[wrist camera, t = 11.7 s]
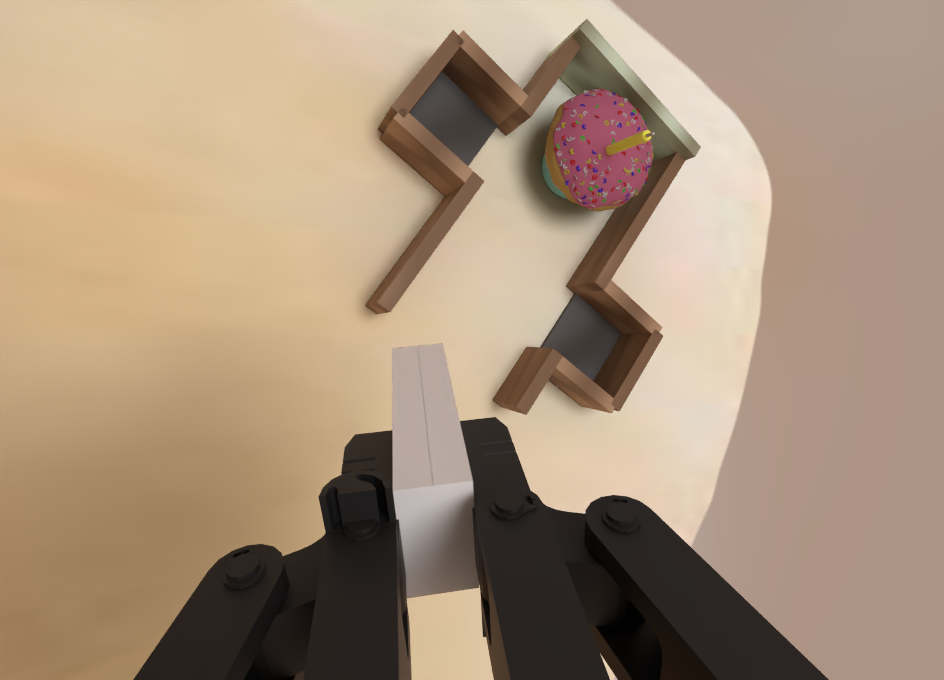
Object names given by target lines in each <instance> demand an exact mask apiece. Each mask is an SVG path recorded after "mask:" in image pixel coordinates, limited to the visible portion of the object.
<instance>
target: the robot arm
mask: <svg viewBox="0 0 944 680" xmlns="http://www.w3.org/2000/svg"><path fill="white" fill-rule="evenodd" d="M341 473H342V475H340V476H338V477H336V478H334V479H332V480H331V481H330V482H329V483H328V484H327V485H325V486H324V487H323V489H322V491H321V493H320V495H319V501H320V506H321V511H322V516H323V521H324V526H325V531H326V533H325V535H324V536H323V537H322V538H321V539H319V540H318V541H316V542H315V543H313V544H312V545H310V546H308V547H306V548H303V549H301V550H299V551H296V552H293V553H291V554H288V555H285V556H283V557H282V553H281V552H280V551H278V550H277V549H276V548H275V547H273V546H268V545H264V544H257V545H248V546H245V547H242V548H239V549H236V550H234V551H232V552H230V553H228V554H227V555H225V556H224V557H222V558H221V559H219V560H218V561H217V562H216V563H215V564H214V565H213V567H212V568H211V569H210V570H209V571H208V572H207V574H206V575H205V577H204V578H203V580H202V581H201V582H200V584H199V585H198V587H197V588H196V590H195V591H194V593H193V594H192V595H191V597H190V598H189V600H188V601H187V603H186V604H185V606H184V607H183V609H182V610H181V611H180V613H179V614H178V616H177V617H176V619H175V620H174V622H173V623H172V625H171V626H170V627H169V629H168V630H167V632H166V633H165V635H164V636H163V638H162V639H161V640H160V642H159V643H158V645H157V646H156V648H155V649H154V651H153V652H152V654H151V655H150V656H149V658H148V659H147V661H146V662H145V664H144V665H143V667H142V668H141V670H140V671H139V672H138V674H137V675H136V677H135V678H134V680H411V654H410V628H409V616H408V608H407V598H412V597H419V596H425V595H432V594H439V593H446V592H453V591H459V590H466V589H473V588H479V585H480V591H481V608H482V626H483V637H486V638H487V643H488V649H489V655H490V660H491V666H492V672H493V677H494V680H610V679H609V676H608V673H607V671H606V668H605V665H604V663H603V660H602V658H601V655H602V656H603V658H604V659H605V661H606V662H607V664H608V665H609V667H610V668H611V670H612V671H613V673H614V674H615V676H616V677H617V679H618V680H828V679H827V678H826V677H825V676H824V675H823V674H822V673H821V672H820V671H819V670H818V669H817V668H816V667H815V666H814V665H813V664H812V663H811V662H810V661H808V659H807V658H806V657H805V656H803V655H802V654H801V653H800V652H799V651H798V650H797V649H796V648H795V647H794V646H793V645H792V644H791V643H790V642H789V641H788V640H787V639H786V638H785V637H784V636H783V635H781V634H780V633H779V632H778V631H777V630H776V629H775V628H774V627H773V626H772V625H771V624H770V623H769V622H768V621H767V620H766V619H765V618H764V617H763V616H762V615H761V614H760V613H759V612H758V611H757V610H756V609H755V608H753V607H752V606H751V605H750V604H749V603H748V602H747V601H746V600H745V599H744V598H743V597H742V596H741V595H740V594H739V593H738V592H737V591H736V590H735V589H734V588H733V587H732V586H731V585H729V584H728V583H727V582H726V581H725V580H724V579H723V578H722V577H721V576H720V575H719V574H718V573H717V572H716V571H715V570H714V569H713V568H712V567H711V566H710V565H709V564H708V563H707V562H706V561H704V560H703V559H702V558H701V557H700V556H699V555H698V554H697V553H696V552H695V551H694V550H693V549H692V548H691V547H690V546H689V545H688V544H687V543H686V542H685V541H684V540H683V539H682V538H681V537H680V536H678V535H677V534H676V533H675V532H674V531H673V530H672V529H671V528H670V527H669V526H668V525H667V524H666V523H665V522H664V521H663V520H662V519H661V518H660V517H659V516H658V515H657V514H656V513H655V512H653V511H652V510H651V509H650V508H649V507H647V506H646V505H645V504H643V503H642V502H640V501H638V500H635V499H632V498H630V497H627V496H617V495H611V496H605V497H600V498H598V499H597V500H595V501H593V502H591V503H590V505H589V506H588V508H587V509H586V514H582V513H573V512H565V511H560V510H555V509H553V508H550V507H547V506H546V505H544V504H543V503H542V501H541V500H540V498H539V497H538V496H537V495H536V494H535V493H533V492H532V491H530V488H529V486H528V483H527V480H526V477H525V475H524V472H523V469H522V466H521V464H520V461H519V458H518V455H517V453H516V450H515V447H514V444H513V442H512V439H511V436H510V433H509V431H508V428H507V427H506V426H505V425H504V424H503V423H502V422H500V421H499V420H498V419H497V418H496V417H493V418H484V419H475V420H467V421H460V420H459V416H458V411H457V406H456V402H455V397H454V393H453V388H452V384H451V379H450V375H449V370H448V365H447V361H446V356H445V352H444V347H443V343H441V344H431V345H421V346H410V347H400V348H392V430H391V431H383V432H374V433H365V434H356V435H354V437H353V438H352V439H351V440H350V442H349V443H348V444H347V445H346V447H345V450H344V458H343V465H342V472H341ZM600 653H601V655H600Z"/></svg>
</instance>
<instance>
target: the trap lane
mask: <svg viewBox="0 0 944 680" xmlns="http://www.w3.org/2000/svg"><path fill="white" fill-rule="evenodd" d="M559 77H560V79H561V80H562V81H563V82H564V83H565V84H566V85H567V86H568V87H569V88H570V89H571V90H572V91H573V92H574V93H575V94H576V95H577V96H578V95H580V94H582V93H584V91H585V90H586V91H590V90H592V89H605V90H608V91H610V92H612V93H613V92H614V93H615V94H617V95H619V96H621V97H624V98H626V99H627V100H628V102H630V103H631V104H632V106H633V107H634V108H635V109H639V111H640V112H639V113H640V115H641V116H642V117H643V118H644V120H645V121H646V126H647V128H648V129H649V131H650V132H654V133H655V135H653V136H652V137H651V145H652V146H653V147H654V148H653V147H652V149H653V151H652V152H653V154H654V157H653V159H652V164H651V168H650V172H649V173H648V176H647V178H648V180H646V183H644V187H642V188H641V190H640V192H639V193H638V195H636V196H633V197H632V198H630V199H629V200H628V201H627V202H626V203H624V204H623V205H621V206H620V207H617V208H616V210H615V211H614V213H613V214H612V216H611V217H610V219H609V220H608V222H607V223H606V225H605V227H604V228H603V230H602V231H601V233H600V234H599V236H598V237H597V239H596V241H595V242H594V244H593V245H592V247H591V248H590V250H589V251H588V253H587V254H586V256H585V258H584V259H583V261H582V262H581V264H580V265H579V267H578V268H577V270H576V272H575V273H574V275H573V276H572V278H571V279H570V281H569V282H568V284H567V286H566V287H568V288H569V289H570V290H571V291H572V292H573V293H574V296H573V297H572V299H571V300H570V302H569V303H568V305H567V307H566V308H565V310H564V311H563V313H562V314H561V316H560V317H559V319H558V321H557V322H556V324H555V325H554V327H553V328H552V330H551V332H550V333H549V335H548V336H547V338H546V339H545V341H544V343H543V344H542V346H541V347H540V348H538V347H527V348H526V349H525V351H524V352H523V354H522V355H521V357H520V358H519V360H518V362H517V363H516V365H515V366H514V368H513V369H512V371H511V372H510V374H509V375H508V377H507V379H506V380H505V382H504V383H503V385H502V386H501V388H500V389H499V391H498V393H497V394H496V396H495V397H494V399H493V401H494V402H496V403H497V404H498V405H500V406H501V407H503V408H506V409H509V410H512V411H516V412H519V413H522V414H526V415H527V413H528V412H529V410H530V408H531V407H532V405H533V404H534V402H535V400H536V399H537V397H538V396H539V394H540V392H541V391H542V389H543V388H544V386H545V384H546V383H547V381H548V380H549V381H551V382H552V383H553V384H554V385H556V386H557V387H558V388H559V389H561V390H562V391H563V392H564V393H566V394H567V395H568V396H569V397H571V398H572V399H573V400H574V401H576V402H577V403H578V404H580V405H581V406H582V407H587V408H591V409H596V410H600V411H604V412H609V413H612V412H613V410H616V411H620V410H621V408H622V406H623V404H624V403H625V401H626V399H627V398H628V396H629V394H630V392H631V391H632V389H633V387H634V386H635V384H636V382H637V380H638V379H639V377H640V375H641V374H642V372H643V370H644V368H645V367H646V365H647V363H648V362H649V360H650V358H651V356H652V355H653V353H654V351H655V350H656V348H657V346H658V344H659V343H660V341H661V339H662V338H663V335H661V334H660V333H659V332H660V330H661V329H662V327H661V326H660V325H659V324H658V323H657V322H656V321H655V320H654V319H653V318H652V317H651V316H650V315H648V314H647V313H646V312H645V311H644V310H643V309H642V308H641V307H640V306H639V305H638V304H637V303H635V302H634V301H633V300H632V299H631V298H630V297H629V296H628V295H627V294H626V293H625V292H624V291H622V290H621V289H620V288H619V287H618V286H617V285H616V284H615V283H614V282H613V281H612V280H611V279H612V277H613V276H614V274H615V272H616V271H617V269H618V268H619V266H620V264H621V263H622V261H623V260H624V258H625V256H626V255H627V253H628V252H629V250H630V248H631V247H632V245H633V244H634V242H635V240H636V239H637V237H638V236H639V234H640V232H641V231H642V229H643V228H644V226H645V224H646V223H647V221H648V220H649V218H650V216H651V215H652V213H653V212H654V210H655V208H656V207H657V205H658V204H659V202H660V200H661V199H662V197H663V196H664V194H665V192H666V191H667V189H668V188H669V186H670V184H671V183H672V181H673V180H674V178H675V176H676V175H677V173H678V172H679V170H680V168H681V167H682V165H683V164H684V162H685V160H688V159H690V158H693V157H695V156H696V154H697V153H698V151H699V149H700V148H701V147H700V145H699V144H698V143H697V142H696V141H695V140H694V139H693V138H692V136H691V135H690V134H689V133H688V132H687V131H686V130H685V129H684V127H683V126H682V125H681V124H680V123H679V122H678V121H677V120H676V118H675V117H674V116H673V115H672V114H671V113H670V112H669V111H668V109H667V108H666V107H665V106H664V105H663V104H662V103H661V102H660V100H659V99H658V98H657V97H656V96H655V95H654V94H653V93H652V91H651V90H650V89H649V88H648V87H647V86H646V85H645V84H644V82H643V81H642V80H641V79H640V78H639V77H638V76H637V75H636V73H635V72H634V71H633V70H632V69H631V68H630V67H629V66H628V64H627V63H626V62H625V61H624V60H623V59H622V58H621V57H620V55H619V54H618V53H617V52H616V51H615V50H614V49H613V48H612V46H611V45H610V44H609V43H608V42H607V41H606V40H605V39H604V37H603V36H602V35H601V34H600V33H599V32H598V31H597V30H596V28H595V27H594V26H593V25H592V24H591V23H590V22H589V21H588V19H586V20H585V21H584V22H583V23H582V24H581V25H580V26H579V27H578V28H577V29H576V30H575V31H573V32H572V33H571V34H570V35H569V36H568V37H567V38H566V39H565V40H564V41H563V42H562V43H561V44H559V45H558V46H557V47H556V48H555V49H554V50H553V51H552V52H551V53H550V54H549V56H548V57H547V58H546V60H545V61H544V63H543V64H542V65H541V67H540V68H539V69H538V71H537V72H536V73H535V75H534V76H533V78H532V79H531V80H530V82H529V83H528V84H527V86H526V87H525V88H524V90H522V89H521V88H520V87H519V86H518V85H517V84H516V83H515V82H514V81H513V80H512V79H511V78H510V77H509V76H508V75H507V74H506V73H505V72H504V71H503V70H502V69H501V68H500V67H499V66H498V65H497V64H496V63H495V62H494V61H493V60H492V59H491V58H490V57H489V56H488V55H487V54H486V53H485V52H484V51H483V50H482V49H481V48H480V47H479V46H478V45H477V44H476V43H475V42H474V41H473V40H472V39H471V38H470V37H469V36H468V35H467V34H466V33H465V32H464V31H462V32H461V33H460V35H458V34H457V33H456V32H455V31H454V30H452V32H451V33H450V34H449V36H448V37H447V38H446V39H445V41H444V42H443V43H442V44H441V46H440V47H439V48H438V49H437V51H436V52H435V53H434V54H433V56H432V57H431V58H430V59H429V61H428V62H427V63H426V64H425V66H424V67H423V68H422V69H421V71H420V72H419V73H418V74H417V76H416V77H415V78H414V79H413V81H412V82H411V83H410V84H409V86H408V87H407V88H406V89H405V91H404V92H403V93H402V94H401V96H400V97H399V98H398V99H397V101H396V102H395V103H394V104H393V106H392V107H391V109H390V110H389V112H388V113H387V115H386V117H385V118H384V120H383V121H382V123H381V125H380V126H379V128H378V129H379V130H380V131H381V132H382V133H383V135H382V136H381V138H380V140H381V141H382V142H383V143H385V144H386V145H387V146H388V147H389V148H390V149H392V150H393V151H394V152H395V153H396V154H397V155H398V156H400V157H401V158H402V159H403V160H404V161H405V162H406V163H408V164H409V165H410V166H411V167H412V168H413V169H414V170H416V171H417V172H418V173H419V174H420V175H421V176H422V177H424V178H425V179H426V180H427V181H428V182H429V183H431V184H432V185H433V186H434V187H435V188H436V189H437V190H439V191H440V192H441V193H442V194H443V195H444V196H445V197H444V199H443V200H442V201H441V203H440V204H439V205H438V207H437V208H436V210H435V211H434V212H433V214H432V215H431V216H430V218H429V219H428V220H427V222H426V223H425V225H424V226H423V227H422V229H421V230H420V231H419V233H418V234H417V235H416V237H415V238H414V239H413V241H412V242H411V244H410V245H409V246H408V248H407V249H406V250H405V252H404V253H403V254H402V256H401V257H400V259H399V260H398V261H397V263H396V264H395V265H394V267H393V268H392V269H391V271H390V272H389V274H388V275H387V276H386V278H385V279H384V280H383V282H382V283H381V284H380V286H379V287H378V288H377V290H376V291H375V293H374V294H373V295H372V297H371V298H370V299H369V301H368V302H367V303H366V305H365V306H367V307H368V308H369V309H371V310H372V311H373V312H375V313H376V314H380V313H387V312H391V310H392V309H393V307H394V306H395V305H396V303H397V302H398V301H399V299H400V298H401V296H402V295H403V294H404V292H405V291H406V289H407V288H408V287H409V285H410V284H411V283H412V281H413V280H414V278H415V277H416V276H417V274H418V273H419V271H420V270H421V269H422V267H423V266H424V264H425V263H426V262H427V260H428V259H429V258H430V256H431V255H432V253H433V252H434V251H435V249H436V248H437V246H438V245H439V244H440V242H441V241H442V239H443V238H444V237H445V235H446V234H447V233H448V231H449V230H450V228H451V227H452V226H453V224H454V223H455V221H456V220H457V219H458V217H459V216H460V214H461V213H462V212H463V210H464V209H465V208H466V206H467V205H468V203H469V202H470V201H471V199H472V198H473V196H474V195H475V194H476V192H477V191H478V190H479V188H480V187H481V185H482V184H483V183H484V181H483V180H482V179H481V178H480V177H479V176H478V175H477V174H476V173H475V172H474V171H472V170H471V169H470V168H469V167H468V166H469V164H470V163H471V161H472V160H473V159H474V157H475V156H476V155H477V153H478V152H479V151H480V149H481V148H482V146H483V145H484V144H485V142H486V141H487V140H488V138H489V137H490V136H491V134H492V133H493V131H494V130H495V129H496V127H498V128H499V129H500V130H501V131H502V132H503V133H504V134H505V135H508V134H509V133H510V132H512V131H513V130H514V129H516V128H517V127H518V126H519V125H521V124H522V123H523V122H525V121H526V120H527V119H529V118H530V117H531V116H532V115H533V113H534V112H535V110H536V109H537V108H538V106H539V105H540V103H541V102H542V101H543V99H544V98H545V96H546V95H547V94H548V92H549V91H550V90H551V88H552V87H553V85H554V84H555V83H556V81H557V80H558V78H559ZM645 121H644V122H645Z"/></svg>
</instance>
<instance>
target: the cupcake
mask: <svg viewBox="0 0 944 680" xmlns="http://www.w3.org/2000/svg"><path fill="white" fill-rule="evenodd" d="M639 112H640V111H639V109H635V108H634V107H633V106H632V104H631V103H630V102H628V100H627V99H626V98H624V97H621V96H619V95H617V94H615V93H614V92H613V93H612V92H610V91H608V90H605V89H592V90H590V91H586V90H585V91H584V93H582V94H580V95H578V96H575V97H573V98H571V99H569V100H568V101H566V102H565V103H563V104H562V105H560V106H559V108H558V109H557V111H556V114H555V116H554V118H553V121H552V123H551V126H550V129H549V132H548V136H547V140H546V147H545V153H544V156H543V159H542V173H543V177H544V180H545V182H546V184H547V186H548V187H549V188H550V190H551V191H552V192H553V193H555V194H556V195H557V196H559V197H561V198H564V199H568V200H569V201H571V202H572V203H575V204H578V205H581V206H583V207H585V208H587V209H590V210H593V211H603V210H609V209H615V208H617V207H620V206H621V205H623V204H624V203H626V202H627V201H628V200H629V199H630V198H632V197H633V196H636V195H638V193H639V192H640V190H641V188H642V187H644V183H646V180H648V178H647V176H648V173H649V172H650V168H651V164H652V159H653V157H654V154H653V152H652V151H653V149H652V147H653V146H652V145H651V137H652V136H653V135H655V133H654V132H650V131H649V129H648V128H647V126H646V121H645V120H644V118H643V117H642V116H641V115H640V113H639ZM644 121H645V122H644ZM653 148H654V147H653Z"/></svg>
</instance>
